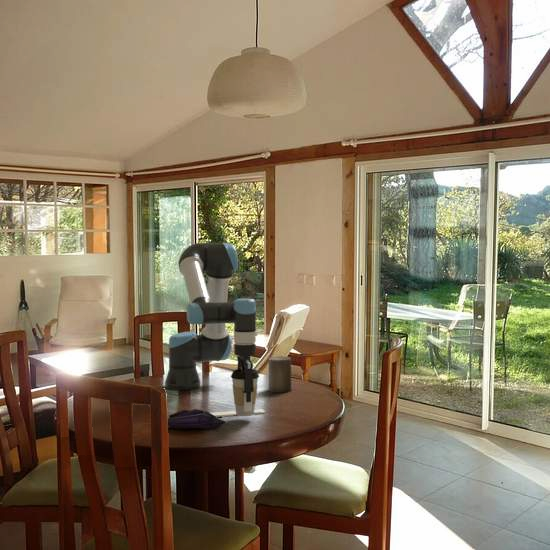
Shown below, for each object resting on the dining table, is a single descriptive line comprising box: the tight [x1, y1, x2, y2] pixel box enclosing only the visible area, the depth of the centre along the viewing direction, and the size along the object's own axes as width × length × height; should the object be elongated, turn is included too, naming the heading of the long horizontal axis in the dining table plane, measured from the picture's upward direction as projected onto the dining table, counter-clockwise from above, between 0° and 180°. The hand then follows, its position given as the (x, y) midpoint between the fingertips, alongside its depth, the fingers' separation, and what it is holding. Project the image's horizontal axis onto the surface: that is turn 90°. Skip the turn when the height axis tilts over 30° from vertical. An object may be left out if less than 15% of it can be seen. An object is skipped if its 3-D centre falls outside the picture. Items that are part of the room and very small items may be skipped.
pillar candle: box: [268, 355, 292, 393], centre depth 261 cm, size 10×10×15 cm
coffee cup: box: [230, 368, 260, 417], centre depth 215 cm, size 10×10×15 cm
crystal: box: [167, 408, 226, 430], centre depth 207 cm, size 7×12×20 cm
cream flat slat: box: [210, 408, 266, 418], centre depth 223 cm, size 4×24×1 cm, turn 105°
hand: (245, 407), depth 215 cm, fingers closed on coffee cup, 9 cm apart
